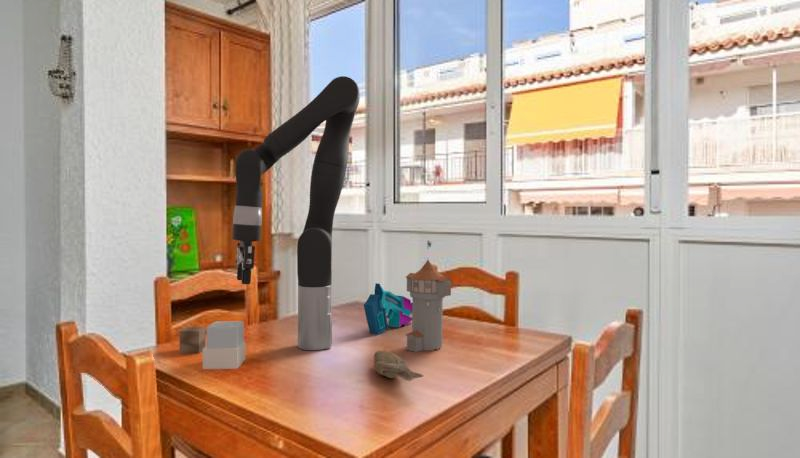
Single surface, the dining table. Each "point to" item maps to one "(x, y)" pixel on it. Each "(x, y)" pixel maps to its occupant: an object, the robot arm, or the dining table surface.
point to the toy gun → (386, 310)
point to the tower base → (223, 357)
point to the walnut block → (192, 340)
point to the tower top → (225, 334)
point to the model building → (427, 307)
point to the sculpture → (393, 366)
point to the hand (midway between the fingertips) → (243, 282)
